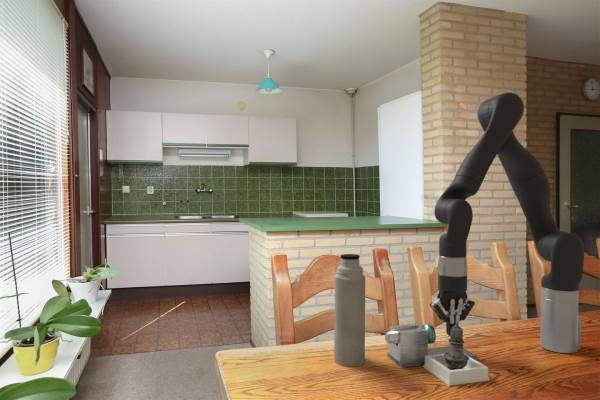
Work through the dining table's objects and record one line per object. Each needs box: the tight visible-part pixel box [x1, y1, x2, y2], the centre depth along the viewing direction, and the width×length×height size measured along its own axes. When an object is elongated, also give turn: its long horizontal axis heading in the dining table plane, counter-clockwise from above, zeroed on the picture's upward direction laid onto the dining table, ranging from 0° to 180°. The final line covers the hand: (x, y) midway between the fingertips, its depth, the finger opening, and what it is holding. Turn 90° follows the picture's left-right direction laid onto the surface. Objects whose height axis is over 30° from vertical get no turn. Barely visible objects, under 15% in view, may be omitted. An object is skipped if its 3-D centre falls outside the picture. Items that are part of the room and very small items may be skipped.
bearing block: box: [387, 323, 478, 369], centre depth 120 cm, size 22×8×8 cm, turn 106°
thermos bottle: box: [333, 253, 366, 367], centre depth 117 cm, size 8×8×28 cm
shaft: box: [384, 323, 437, 345], centre depth 118 cm, size 13×5×5 cm, turn 106°
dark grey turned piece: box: [444, 323, 469, 370], centre depth 110 cm, size 6×6×12 cm
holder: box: [423, 354, 491, 387], centre depth 110 cm, size 11×11×3 cm
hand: (452, 336), depth 121 cm, fingers closed
